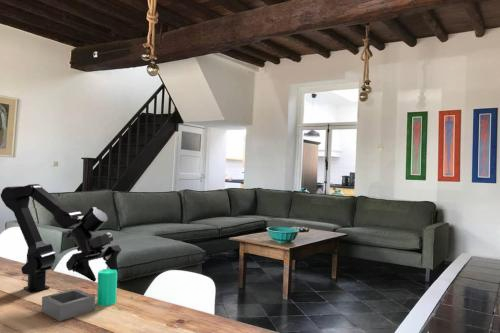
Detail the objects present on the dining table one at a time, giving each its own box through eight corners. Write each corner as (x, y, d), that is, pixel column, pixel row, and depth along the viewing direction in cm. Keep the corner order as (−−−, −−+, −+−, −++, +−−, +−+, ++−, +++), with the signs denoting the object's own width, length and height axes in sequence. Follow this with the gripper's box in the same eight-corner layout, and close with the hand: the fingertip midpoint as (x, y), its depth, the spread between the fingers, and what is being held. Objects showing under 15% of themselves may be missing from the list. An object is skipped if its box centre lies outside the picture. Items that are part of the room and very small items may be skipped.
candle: (109, 306, 125) (111, 269, 124) (93, 304, 126) (94, 268, 126) (119, 300, 130) (120, 265, 130) (103, 298, 132) (104, 263, 132)
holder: (41, 311, 119) (42, 296, 119) (75, 302, 127) (76, 288, 127) (59, 321, 112) (60, 305, 112) (94, 310, 121) (94, 296, 121)
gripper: (72, 229, 123) (95, 269, 117) (118, 222, 139) (140, 257, 134) (56, 250, 127) (77, 290, 121) (102, 241, 143) (123, 276, 138)
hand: (106, 277), depth 128 cm, fingers open, 9 cm apart
